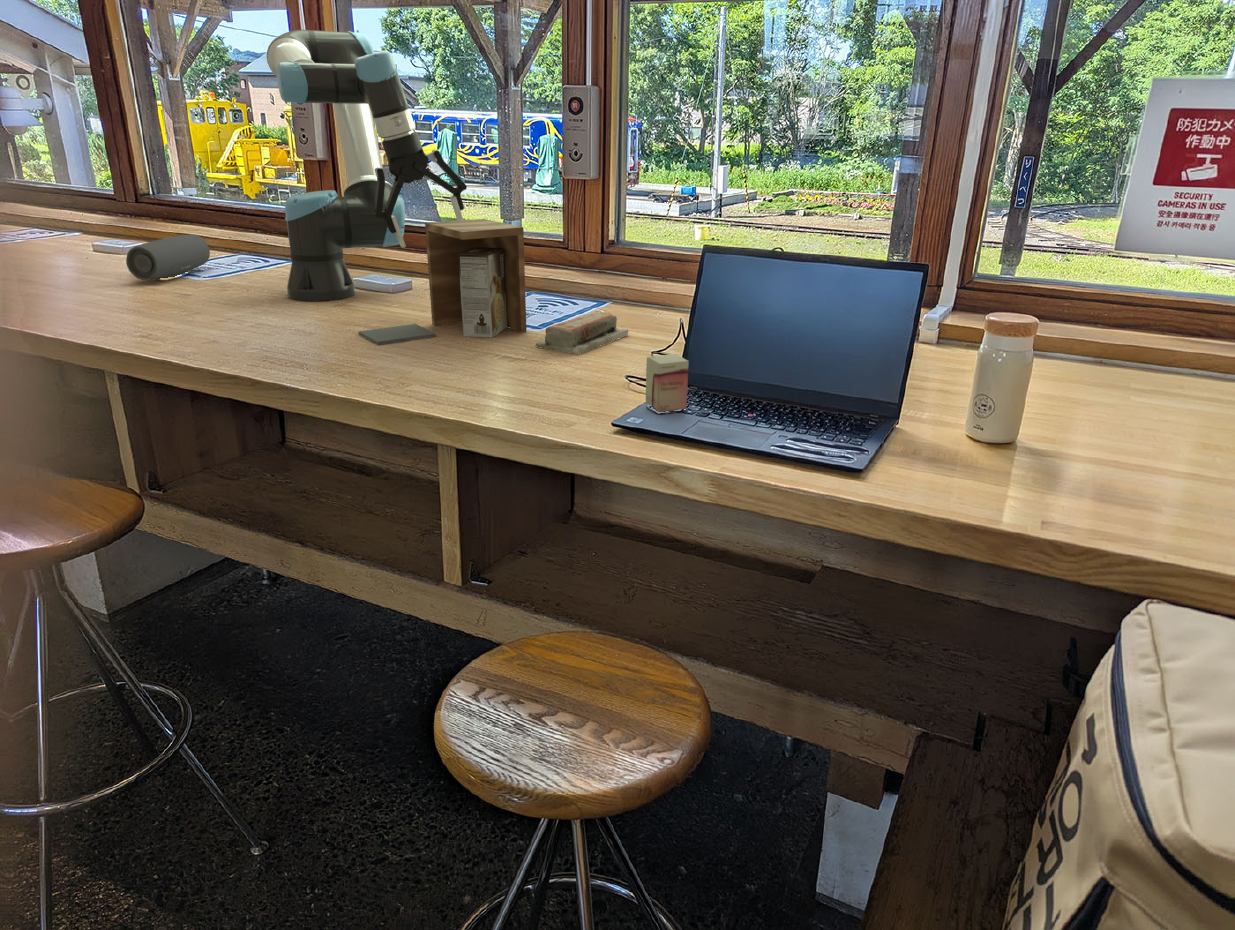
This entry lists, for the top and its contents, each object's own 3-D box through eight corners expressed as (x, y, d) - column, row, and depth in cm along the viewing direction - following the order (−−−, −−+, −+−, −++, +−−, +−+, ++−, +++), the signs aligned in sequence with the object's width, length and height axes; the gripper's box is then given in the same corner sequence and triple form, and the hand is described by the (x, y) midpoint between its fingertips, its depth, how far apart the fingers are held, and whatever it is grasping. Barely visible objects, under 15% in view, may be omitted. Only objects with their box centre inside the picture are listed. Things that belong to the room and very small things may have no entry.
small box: (657, 415, 127) (658, 363, 124) (644, 407, 131) (645, 356, 128) (687, 411, 129) (689, 360, 126) (674, 403, 132) (676, 352, 129)
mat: (358, 334, 170) (358, 331, 170) (415, 326, 177) (415, 323, 177) (377, 344, 163) (377, 341, 162) (436, 336, 169) (436, 333, 169)
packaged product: (579, 331, 156) (534, 324, 161) (579, 357, 158) (535, 349, 163) (629, 313, 170) (587, 307, 175) (629, 337, 172) (587, 330, 177)
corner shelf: (432, 324, 178) (424, 222, 171) (488, 317, 185) (483, 218, 178) (468, 340, 166) (462, 231, 159) (526, 331, 174) (523, 227, 166)
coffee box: (478, 326, 178) (474, 246, 172) (508, 327, 177) (505, 247, 171) (462, 336, 170) (457, 253, 163) (493, 338, 168) (489, 254, 162)
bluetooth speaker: (183, 269, 236) (176, 231, 232) (214, 270, 235) (208, 232, 231) (128, 284, 215) (119, 243, 211) (162, 286, 214) (155, 244, 210)
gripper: (342, 154, 170) (381, 258, 180) (460, 118, 176) (491, 220, 187) (336, 151, 176) (374, 252, 186) (450, 116, 183) (481, 215, 193)
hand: (433, 236), depth 187 cm, fingers open, 13 cm apart
